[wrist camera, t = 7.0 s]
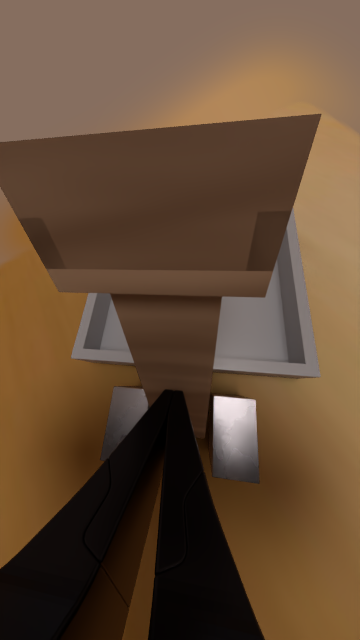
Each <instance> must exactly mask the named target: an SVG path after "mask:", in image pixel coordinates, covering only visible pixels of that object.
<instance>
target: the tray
mask: <svg viewBox="0 0 360 640" xmlns="http://www.w3.org/2000/svg"><path fill="white" fill-rule="evenodd" d="M71 358H73V359H78V360H82V361H87V362H93V363H106V364H118V365H131V366H135V364H134V361H133V358H132V355H131V352H130V349H129V347H128V344H127V341H126V338H125V335H124V332H123V329H122V327H121V324H120V321H119V318H118V315H117V312H116V309H115V307H114V304H113V301H112V298H111V295H110V293H89V294H88V298H87V301H86V305H85V308H84V312H83V316H82V319H81V323H80V327H79V330H78V334H77V337H76V341H75V345H74V348H73V352H72V356H71ZM213 372H220V373H233V374H246V375H259V376H272V377H284V378H297V379H298V378H316V377H320V371H319V364H318V358H317V352H316V346H315V340H314V334H313V328H312V321H311V315H310V309H309V303H308V297H307V291H306V285H305V278H304V272H303V266H302V260H301V254H300V248H299V242H298V235H297V229H296V223H295V217H294V211H293V208H292V212H291V215H290V218H289V221H288V225H287V228H286V231H285V234H284V238H283V241H282V244H281V247H280V251H279V254H278V257H277V260H276V264H275V267H274V270H273V273H272V277H271V280H270V283H269V287H268V290H267V293H266V296H265V298H258V297H222V301H221V309H220V317H219V325H218V334H217V342H216V350H215V358H214V366H213Z"/></svg>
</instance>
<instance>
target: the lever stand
mask: <svg viewBox="0 0 360 640" xmlns="http://www.w3.org/2000/svg"><path fill="white" fill-rule="evenodd" d="M149 408H150V407H149V404H148V401H147V398H146V395H145V392H144V389H143V387H142V386H115V387H114V389H113V395H112V400H111V405H110V411H109V416H108V421H107V426H106V432H105V437H104V442H103V448H102V453H101V458H100V460H103V461H105V460H106V459H107V458H109V456H110V454H111V453H112V452H113V451H114V450H115V448H116V447H117V446H118V445H119V444H120V442H121V441H122V440H123V439H124V438H125V436H126V435H127V434H128V433H129V432H130V430H131V429H132V428H133V427H134V426H135V424H136V423H137V422H138V421H139V420H140V418H141V417H142V416H143V415H144V414H145V412H146V411H147V410H148V409H149ZM209 455H210V462H211V470H212V477H217V478H224V479H231V480H237V481H244V482H251V483H257V484H259V463H258V443H257V422H256V402H255V400H254V399H251V398H247V397H243V396H240V395H229V394H218V393H210V417H209Z"/></svg>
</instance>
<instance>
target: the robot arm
mask: <svg viewBox="0 0 360 640" xmlns="http://www.w3.org/2000/svg"><path fill="white" fill-rule="evenodd" d="M162 471H163V478H162V490H161V502H160V514H159V527H158V539H157V551H156V563H155V578H154V588H153V599H152V608H151V618H150V627H149V635H148V640H265V639H264V636H263V634H262V632H261V629H260V627H259V624H258V622H257V619H256V617H255V614H254V612H253V609H252V607H251V604H250V602H249V599H248V597H247V594H246V591H245V589H244V586H243V583H242V581H241V578H240V575H239V573H238V570H237V567H236V565H235V562H234V559H233V557H232V554H231V551H230V549H229V546H228V543H227V540H226V538H225V535H224V532H223V530H222V527H221V524H220V521H219V518H218V515H217V513H216V510H215V507H214V504H213V500H212V497H211V493H210V490H209V487H208V483H207V479H206V475H205V473H204V468H203V464H202V461H201V457H200V453H199V449H198V446H197V442H196V438H195V434H194V431H193V427H192V423H191V419H190V415H189V412H188V408H187V404H186V400H185V397H184V393H183V391H182V390H171V389H165V390H164V391H163V392H162V393H161V394H160V396H159V397H158V398H157V399H156V400H155V402H154V403H153V404H152V405H151V406H150V408H149V409H148V410H147V411H146V412H145V414H144V415H143V416H142V417H141V418H140V420H139V421H138V422H137V423H136V424H135V426H134V427H133V428H132V429H131V430H130V432H129V433H128V434H127V435H126V436H125V438H124V439H123V440H122V441H121V442H120V444H119V445H118V446H117V447H116V448H115V450H114V451H113V452H112V453H111V454H110V456H109V458H107V459H106V460H105V462H104V463H103V464H102V465H101V466H100V468H99V469H98V470H97V471H96V472H95V473H94V475H93V476H92V477H91V478H90V479H89V480H88V481H87V483H86V484H85V485H84V486H83V487H82V488H81V489H80V490H79V491H78V492H77V493H76V494H75V495H74V496H73V497H72V499H71V500H70V501H69V502H68V503H67V504H66V505H65V506H64V507H63V508H62V509H61V510H60V511H59V512H58V513H57V514H56V515H55V516H54V517H53V518H52V519H51V520H50V521H49V522H48V523H47V524H46V525H45V526H44V527H43V528H42V529H41V530H40V531H39V532H38V533H37V534H36V535H35V536H34V537H33V539H32V540H31V541H30V542H29V543H28V544H27V545H26V546H25V547H24V548H23V549H22V550H21V551H20V552H19V553H18V554H17V555H15V556H14V557H13V558H12V559H11V560H10V561H9V562H8V563H7V564H5V565H4V566H3V567H2V568H1V569H0V640H122V636H123V632H124V628H125V624H126V619H127V615H128V611H129V608H128V607H129V606H130V603H131V599H132V595H133V590H134V586H135V582H136V578H137V574H138V570H139V566H140V562H141V558H142V554H143V549H144V545H145V541H146V537H147V533H148V529H149V525H150V521H151V517H152V512H153V508H154V504H155V500H156V496H157V492H158V488H159V484H160V480H161V476H162Z"/></svg>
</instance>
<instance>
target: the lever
mask: <svg viewBox="0 0 360 640" xmlns="http://www.w3.org/2000/svg"><path fill="white" fill-rule="evenodd" d="M320 117H321V114H313V115H302V116H291V117H279V118H268V119H257V120H246V121H235V122H223V123H213V124H201V125H191V126H178V127H168V128H156V129H145V130H134V131H123V132H111V133H100V134H89V135H78V136H66V137H55V138H44V139H33V140H21V141H10V142H0V187H1V189H2V191H3V192H4V194H5V196H6V198H7V200H8V202H9V203H10V205H11V207H12V208H13V210H14V212H15V214H16V216H17V218H18V219H19V221H20V223H21V225H22V226H23V228H24V230H25V232H26V234H27V235H28V237H29V239H30V241H31V243H32V244H33V246H34V248H35V250H36V252H37V253H38V255H39V257H40V259H41V260H42V262H43V264H44V266H45V268H46V269H47V271H48V273H49V275H50V277H51V278H52V280H53V282H54V284H55V285H56V287H57V289H58V291H59V292H75V293H110V295H111V298H112V301H113V304H114V307H115V309H116V312H117V315H118V318H119V321H120V324H121V327H122V329H123V332H124V335H125V338H126V341H127V344H128V347H129V349H130V352H131V355H132V358H133V361H134V364H135V367H136V369H137V372H138V375H139V378H140V381H141V384H142V387H143V389H144V392H145V395H146V398H147V401H148V404H149V407H150V406H151V405H152V404H153V403H154V402H155V400H156V399H157V398H158V397H159V396H160V394H161V393H162V392H163V391H164V390H165V389H171V390H182V391H183V393H184V397H185V400H186V404H187V408H188V412H189V415H190V419H191V423H192V427H193V431H194V434H195V438H204V439H205V431H206V423H207V415H208V407H209V399H210V391H211V382H212V374H213V366H214V358H215V350H216V342H217V334H218V325H219V317H220V309H221V301H222V297H258V298H265V296H266V293H267V290H268V287H269V283H270V280H271V277H272V273H273V270H274V267H275V264H276V260H277V257H278V254H279V251H280V247H281V244H282V241H283V238H284V234H285V231H286V228H287V225H288V221H289V218H290V215H291V212H292V208H293V205H294V202H295V199H296V195H297V192H298V189H299V186H300V182H301V179H302V176H303V173H304V169H305V166H306V163H307V160H308V156H309V153H310V150H311V147H312V143H313V140H314V137H315V134H316V130H317V127H318V124H319V121H320Z"/></svg>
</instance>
